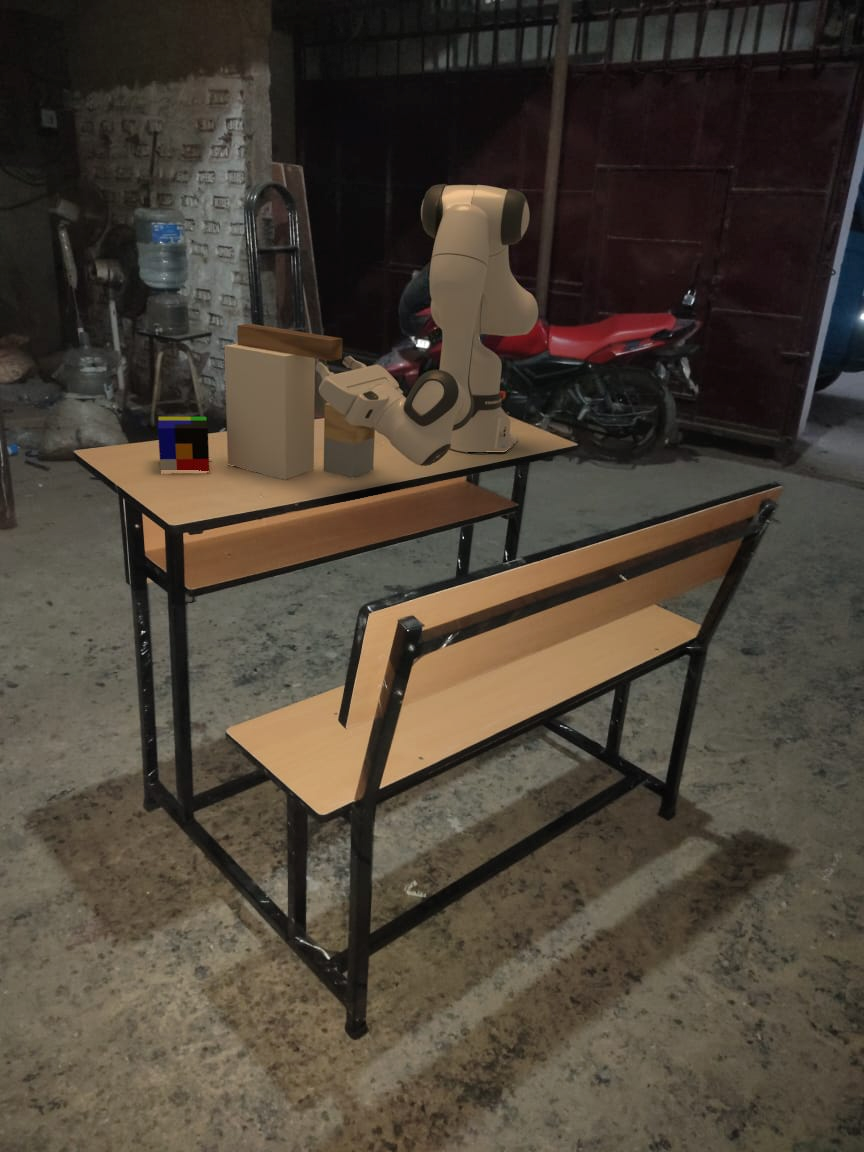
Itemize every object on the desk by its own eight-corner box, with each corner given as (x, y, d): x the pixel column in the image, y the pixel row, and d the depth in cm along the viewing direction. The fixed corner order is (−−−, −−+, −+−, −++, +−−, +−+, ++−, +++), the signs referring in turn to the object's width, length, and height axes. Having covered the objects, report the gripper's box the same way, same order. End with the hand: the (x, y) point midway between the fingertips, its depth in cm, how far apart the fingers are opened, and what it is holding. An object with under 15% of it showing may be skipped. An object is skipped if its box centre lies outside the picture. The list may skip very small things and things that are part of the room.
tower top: (344, 431, 195) (345, 398, 192) (374, 437, 191) (375, 404, 188) (324, 437, 188) (324, 403, 185) (354, 444, 185) (355, 410, 182)
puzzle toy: (160, 474, 181) (157, 428, 177) (161, 461, 190) (158, 416, 186) (209, 473, 184) (207, 428, 180) (207, 460, 193) (206, 416, 189)
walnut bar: (250, 342, 185) (249, 323, 183) (341, 358, 175) (342, 338, 173) (237, 344, 182) (237, 325, 180) (330, 360, 171) (330, 340, 170)
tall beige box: (257, 456, 198) (255, 341, 188) (313, 469, 191) (315, 351, 181) (228, 465, 190) (224, 345, 180) (285, 479, 183) (285, 356, 173)
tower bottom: (344, 463, 198) (344, 431, 195) (373, 469, 194) (374, 437, 191) (323, 470, 191) (324, 437, 188) (353, 477, 188) (354, 444, 185)
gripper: (414, 385, 178) (367, 343, 180) (360, 401, 161) (308, 354, 164) (400, 408, 182) (354, 367, 184) (345, 426, 165) (295, 380, 167)
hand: (332, 361), depth 174 cm, fingers open, 8 cm apart
